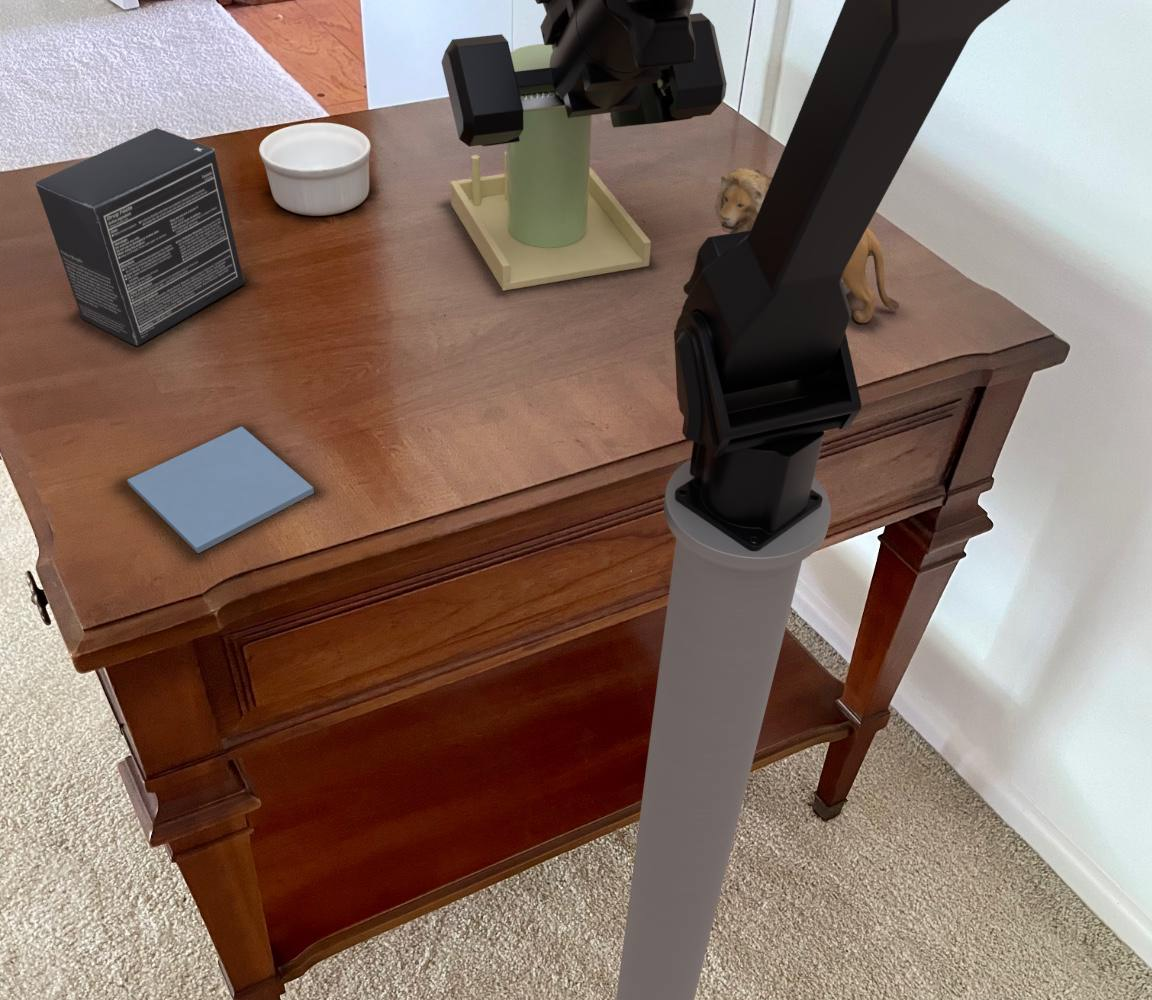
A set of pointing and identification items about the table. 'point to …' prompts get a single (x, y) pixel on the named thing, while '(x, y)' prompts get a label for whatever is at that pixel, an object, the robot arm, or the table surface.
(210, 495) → the mat
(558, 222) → the pale green cylinder
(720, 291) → the robot arm
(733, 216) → the lion figurine
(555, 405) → the table surface
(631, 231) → the dish rack
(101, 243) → the small box
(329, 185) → the ramekin
